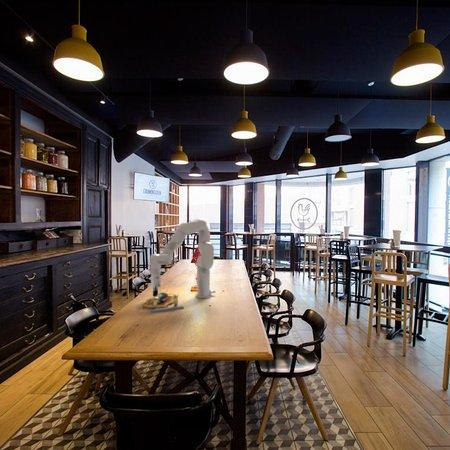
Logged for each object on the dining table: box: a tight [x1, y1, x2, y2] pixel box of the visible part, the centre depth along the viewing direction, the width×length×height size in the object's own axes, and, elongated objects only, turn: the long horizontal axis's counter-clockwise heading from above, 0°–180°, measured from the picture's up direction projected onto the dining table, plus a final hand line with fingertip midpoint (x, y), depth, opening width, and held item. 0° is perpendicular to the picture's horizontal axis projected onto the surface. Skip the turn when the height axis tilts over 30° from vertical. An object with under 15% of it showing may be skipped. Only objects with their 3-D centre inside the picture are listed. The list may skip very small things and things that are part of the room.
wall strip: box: [149, 304, 185, 314], centre depth 203 cm, size 22×3×2 cm, turn 118°
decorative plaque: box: [142, 292, 174, 310], centre depth 220 cm, size 30×7×20 cm
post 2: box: [172, 293, 180, 306], centre depth 209 cm, size 4×4×9 cm
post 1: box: [151, 296, 158, 309], centre depth 202 cm, size 4×4×9 cm
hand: (155, 296), depth 227 cm, fingers closed
